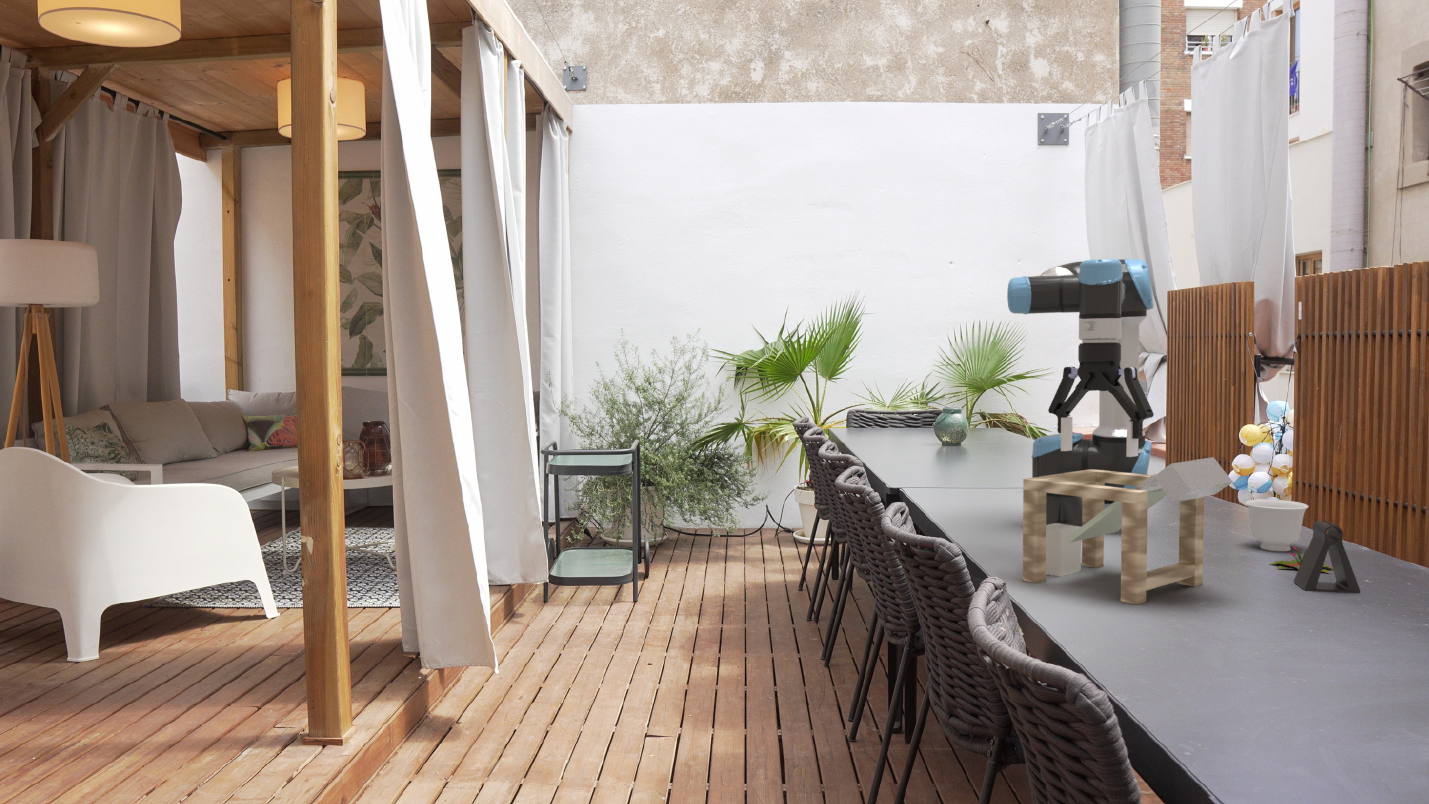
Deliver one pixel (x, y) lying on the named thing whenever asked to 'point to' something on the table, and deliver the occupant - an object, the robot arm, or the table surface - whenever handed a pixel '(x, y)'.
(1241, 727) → the table surface
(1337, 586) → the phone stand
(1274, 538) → the teacup
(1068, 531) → the white rectangular block
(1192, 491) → the trapdoor
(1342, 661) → the table surface
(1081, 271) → the robot arm
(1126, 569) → the trapdoor frame
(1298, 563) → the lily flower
